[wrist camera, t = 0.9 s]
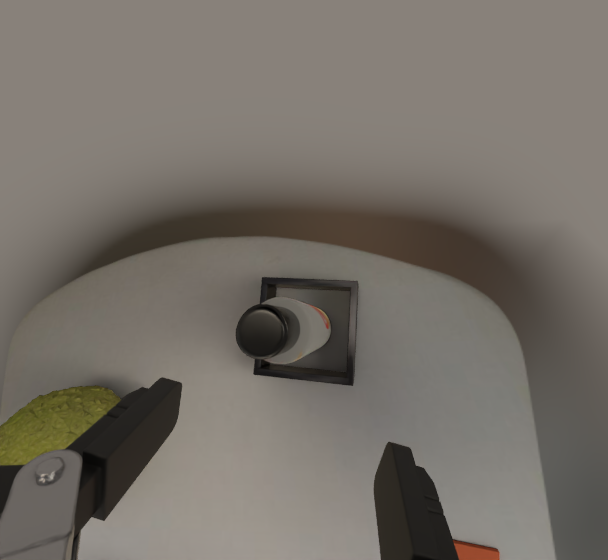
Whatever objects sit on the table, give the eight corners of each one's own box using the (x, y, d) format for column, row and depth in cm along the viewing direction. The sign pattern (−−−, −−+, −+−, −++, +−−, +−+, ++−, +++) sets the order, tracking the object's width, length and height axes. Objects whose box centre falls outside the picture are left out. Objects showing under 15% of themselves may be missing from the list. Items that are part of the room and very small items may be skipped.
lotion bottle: (312, 297, 40) (262, 272, 20) (341, 329, 38) (318, 334, 19) (281, 326, 40) (204, 328, 21) (309, 358, 39) (255, 393, 19)
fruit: (130, 516, 40) (-38, 600, 29) (105, 432, 49) (-34, 472, 37) (163, 430, 36) (-21, 490, 24) (129, 354, 44) (-20, 372, 33)
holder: (358, 285, 39) (357, 281, 35) (354, 379, 37) (353, 385, 33) (271, 281, 41) (262, 277, 37) (264, 369, 40) (253, 374, 36)
